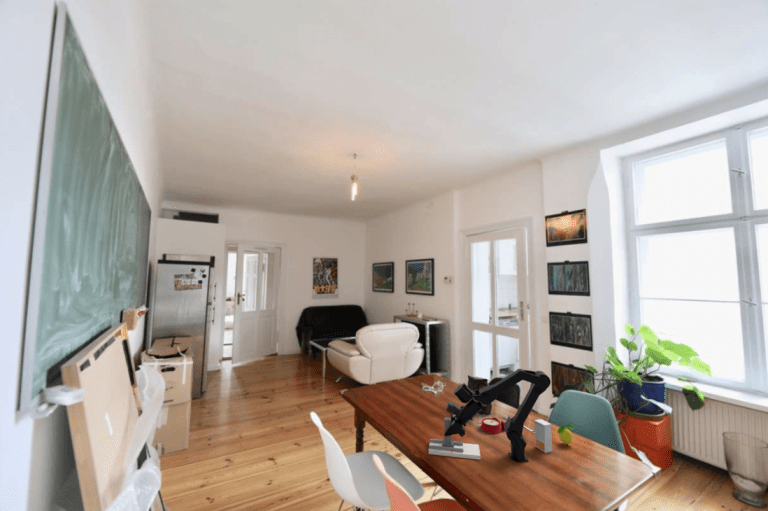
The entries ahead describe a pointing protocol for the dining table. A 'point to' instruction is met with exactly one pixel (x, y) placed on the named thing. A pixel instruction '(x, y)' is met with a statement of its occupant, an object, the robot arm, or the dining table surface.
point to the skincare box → (543, 435)
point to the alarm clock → (492, 425)
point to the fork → (523, 426)
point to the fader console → (454, 449)
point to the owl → (476, 384)
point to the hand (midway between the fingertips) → (444, 433)
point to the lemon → (565, 434)
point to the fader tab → (447, 441)
